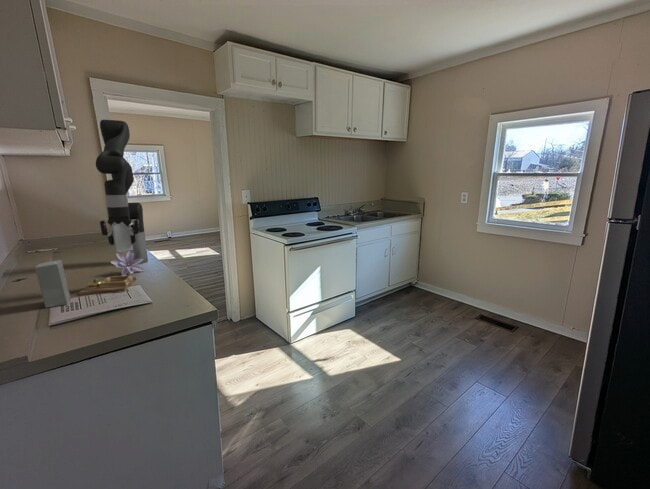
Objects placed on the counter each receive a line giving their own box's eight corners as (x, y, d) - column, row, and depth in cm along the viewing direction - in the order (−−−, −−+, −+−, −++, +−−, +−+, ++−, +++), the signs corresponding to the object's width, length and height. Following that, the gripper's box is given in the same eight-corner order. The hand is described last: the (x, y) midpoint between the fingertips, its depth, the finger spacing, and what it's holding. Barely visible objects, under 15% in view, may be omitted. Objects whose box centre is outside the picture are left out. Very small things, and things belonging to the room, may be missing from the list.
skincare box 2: (130, 248, 134) (127, 221, 132) (133, 250, 132) (129, 223, 129) (114, 250, 130) (110, 223, 128) (116, 252, 127) (112, 224, 125)
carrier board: (96, 282, 137) (95, 275, 136) (136, 279, 141) (135, 273, 141) (79, 295, 122) (77, 287, 121) (124, 291, 126) (123, 284, 126)
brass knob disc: (91, 283, 132) (90, 278, 131) (105, 282, 133) (104, 277, 133) (86, 287, 127) (85, 281, 127) (100, 286, 128) (99, 281, 128)
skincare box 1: (67, 304, 113) (60, 264, 109) (42, 309, 109) (33, 266, 106) (71, 297, 120) (64, 258, 116) (47, 301, 116) (39, 261, 113)
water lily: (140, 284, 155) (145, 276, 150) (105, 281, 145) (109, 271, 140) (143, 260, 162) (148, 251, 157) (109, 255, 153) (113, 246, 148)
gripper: (139, 204, 132) (144, 241, 136) (101, 205, 128) (106, 243, 132) (134, 206, 125) (139, 245, 129) (93, 206, 121) (99, 246, 125)
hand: (122, 244), depth 130 cm, fingers closed on skincare box 2, 7 cm apart
